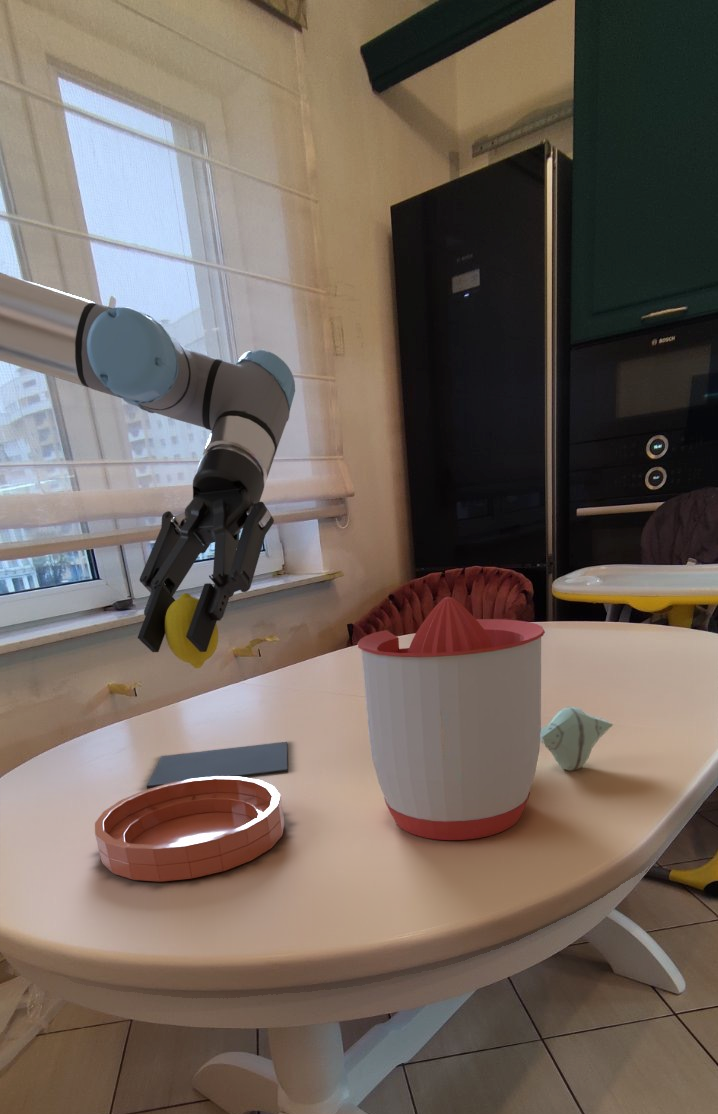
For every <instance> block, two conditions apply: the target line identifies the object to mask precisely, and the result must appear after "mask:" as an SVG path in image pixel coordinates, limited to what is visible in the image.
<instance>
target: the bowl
mask: <svg viewBox="0 0 718 1114" xmlns="http://www.w3.org/2000/svg"><path fill="white" fill-rule="evenodd" d="M284 817H285V816H284V812H283V803H282V796H281V793H280V792H279V790H277V788H276V787H275V786H274V785H272V784H270V783H268V782H265V781H264V780H261V779H255V778H250V777H225V776H215V777H205V778H194V779H188V780H183V781H178V782H173V783H168V784H164V785H160V786H157V787H154V788H148V789H147V788H146V789H143V790H141V791H139V792H137V793H134V794H131V795H130V796H127V797H126V798H123V799H120V800H118V801H117V802H116V803H114V804H113V805H111V806H110V807H108V808H107V809H105V810H103V812H102V813H101V814H100V815H99V817H98V818H97V819H96V821H95V822H94V836H95V840H96V842H97V844H96V845H97V847H98V853H99V855H100V860H101V863H102V865H103V866H104V867H106V868H107V869H108V870H109V872H111V873H112V874H114V875H117V876H119V877H124V878H126V879H130V880H132V881H133V880H134V881H146V882H169V881H170V882H171V881H180V880H189V879H190V880H192V879H196V878H200V877H204V876H209V875H213V874H217V873H221V872H225V871H228V870H231V869H233V868H236V867H239V866H241V865H244V864H246V863H249V862H251V861H254V859H257V858H258V857H260V856H261V855H263V854H265V853H266V852H267V851H269V850H271V849H272V848H273V847H274V846H275V844H276V843H277V842H278V841H279V840H280V839H281V838H282V837H283V834H284V829H285V818H284Z"/></svg>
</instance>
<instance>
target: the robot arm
mask: <svg viewBox="0 0 718 1114" xmlns="http://www.w3.org/2000/svg"><path fill="white" fill-rule="evenodd" d="M0 361H1V362H3V363H7V364H10V365H13V366H16V367H20V368H23V369H26V370H30V371H33V372H37V373H40V374H43V375H46V376H50V377H53V378H55V379H59V380H63V381H66V382H70V383H73V384H76V385H78V386H83V387H86V388H89V389H91V390H94V391H97V392H100V393H104V394H107V395H110V396H113V397H117V398H119V399H122V400H123V401H124V402H125V403H127V404H129V405H131V406H134V407H137V408H139V409H140V410H142V411H145V412H147V413H150V414H157V415H161V416H164V417H167V418H169V419H173V420H176V421H179V422H183V423H187V424H190V425H194V426H197V427H200V428H201V427H202V428H204V429H206V430H208V431H211V432H210V434H209V438H208V439H207V442H206V444H205V447H204V448H203V449H204V450H203V453H202V457H201V458H200V461H199V464H198V466H197V469H196V472H195V473H194V476H193V478H192V479H193V480H192V499H191V500H190V502H189V503H188V504H187V505H186V507H185V508H184V511H183V512H181V513H178V514H175V515H174V514H173V513H172V512H171V511H169V510H167V511H165V512H164V513H163V514H162V516H161V524H160V526H161V527H160V530H159V532H158V534H157V537H156V539H155V541H154V544H153V546H152V548H151V551H150V554H149V556H148V557H147V560H146V562H145V565H144V567H143V569H142V572H141V574H140V577H139V582H140V583H141V584H142V585H143V586H144V588H145V589H146V590H147V591H148V592H149V593H150V594H149V597H148V599H147V603H146V604H145V607H144V610H143V615H144V619H143V622H142V625H141V627H140V630H139V633H138V635H137V639H138V640H139V641H140V642H141V643H142V644H143V645H144V646H145V647H146V648H148V650H149V651H151V652H152V653H159V651H160V649H161V646H162V643H163V641H164V638H165V636H166V635H165V616H166V612H167V610H168V608H169V606H170V605H171V604H172V603H173V602H174V601H175V600H176V599H175V598H174V595H175V593H176V592H177V590H178V589H179V587H180V586H181V584H182V583H183V581H184V579H185V578H186V576H187V574H188V573H189V572H190V570H191V568H192V567H193V565H194V563H196V561H197V558H198V557H199V556H200V555H201V554H205V553H206V551H207V550H208V549H209V547H210V546H211V544H213V543H214V552H213V566H212V567H213V569H212V574H211V575H208V577H209V580H211V581H212V582H213V584H214V585H213V584H212V583H211V582H206V583H204V584H203V587H202V590H201V593H200V596H199V598H198V599H199V601H198V604H197V607H196V610H195V612H194V615H193V618H192V621H191V624H190V627H189V629H188V632H187V635H186V637H187V638H188V639H189V641H190V642H191V643H192V644H193V645H194V646H195V647H196V648H197V649H198V650H199V651H200V652H206V651H207V648H208V645H209V642H210V639H211V636H212V633H213V630H214V628H215V625H216V624H217V622H219V621H221V620H222V619H223V618H224V615H225V612H226V608H227V606H228V603H229V600H230V598H232V597H233V596H234V595H235V593H236V592H238V591H240V592H242V593H246V592H248V591H249V590H250V589H251V587H252V584H253V579H254V576H255V574H256V573H255V572H256V570H257V565H258V563H259V559H260V555H261V551H262V548H263V544H264V542H265V538H266V535H267V534H268V532H269V531H270V529H271V528H272V526H273V525H274V523H275V519H274V517H273V516H272V514H271V512H270V511H269V509H268V508H267V506H266V504H265V503H264V501H261V498H262V496H263V494H264V493H263V492H264V491H265V490H264V489H265V485H266V482H267V480H268V477H269V474H270V471H271V469H272V466H273V462H274V459H275V456H276V454H277V450H278V447H279V445H280V442H281V439H282V436H283V433H284V430H285V427H286V425H287V422H288V421H289V419H290V413H291V409H292V405H293V404H292V403H293V400H294V397H295V393H296V381H295V378H294V375H293V373H292V371H291V368H290V367H289V366H288V364H287V363H286V362H285V361H284V360H283V359H282V358H281V357H279V356H278V355H276V354H275V353H273V352H271V351H269V350H265V349H257V350H248V351H246V352H244V353H243V354H242V355H241V356H240V358H239V359H238V361H236V363H234V362H230V361H227V360H222V359H219V358H215V357H212V356H209V355H206V354H203V353H202V352H198V351H195V350H192V349H189V348H188V347H185V346H184V345H182V344H181V343H180V342H179V341H178V340H177V339H176V338H175V337H173V336H172V335H170V333H168V332H167V330H166V329H165V328H164V326H163V325H162V324H160V323H159V322H158V321H157V320H155V319H154V317H152V316H150V315H149V314H146V313H145V312H141V311H139V310H137V309H134V308H131V307H126V306H117V307H110V306H108V305H103V304H99V303H96V302H94V301H91V300H88V299H86V298H82V297H79V296H76V295H72V294H70V293H66V292H63V291H60V290H58V289H55V288H51V287H47V286H44V285H41V284H37V283H35V282H31V281H28V280H26V279H22V278H19V277H16V276H13V275H9V274H7V273H4V272H0Z"/></svg>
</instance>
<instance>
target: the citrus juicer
mask: <svg viewBox="0 0 718 1114" xmlns="http://www.w3.org/2000/svg"><path fill="white" fill-rule="evenodd" d="M545 633H546V632H545V629H544V627H543V626H542V625H540V624H538V623H534V622H530V621H524V620H517V619H516V620H515V619H503V618H501V619H500V618H475V616H473V614H472V613H471V612H470V611H469V610H468V609H467V608H466V607H465V606H464V605H463V604H462V603H460V602H459V601H458V600H456V599H455V598H454V597H452V596H446V597H444V598H442V599H441V600H440V601H439V602H438V603H437V604H436V605H435V606H434V607H433V609H432V610H431V611H430V612H429V613H428V615H426V617H425V619H424V620H423V622H422V623H420V626H419V627H418V629H417V631H416V632H415V634H414V637H413V638H412V640H411V642H410V645H409V647H403V648H400V641H399V639H400V638H399V637H398V636H396V635H395V634H393V633H392V632H390V631H389V630H387V629H384V630H380V631H375V632H372V633H370V634H367V635H365V636H363V637H362V638H360V639H359V640H358V642H357V648H358V649H359V650H361V660H362V661H361V662H362V674H363V685H364V695H365V696H364V697H365V707H366V719H367V720H366V721H367V730H368V739H369V747H370V753H371V759H372V763H373V766H374V770H375V774H376V778H377V781H378V784H379V787H380V790H381V792H382V794H383V799H384V802H385V805H386V807H387V809H388V810H389V813H390V814H391V817H392V818H393V820H394V822H395V824H397V825H398V827H399V828H401V829H402V830H403V831H405V832H407V833H410V834H412V835H414V836H418V837H421V838H426V839H431V840H440V841H441V840H442V841H464V840H465V841H466V840H475V839H481V838H485V837H489V836H493V835H496V834H499V833H501V832H504V831H506V830H508V829H510V828H511V827H513V826H514V825H516V823H518V821H519V820H520V818H521V816H522V814H523V812H524V809H525V808H526V804H527V803H528V801H529V797H530V794H531V791H530V790H531V787H532V784H533V781H534V778H535V774H536V772H537V771H536V770H537V766H538V760H539V756H540V755H539V754H540V749H541V740H540V734H541V728H542V637H543V636H544V635H545Z"/></svg>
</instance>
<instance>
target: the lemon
mask: <svg viewBox="0 0 718 1114" xmlns="http://www.w3.org/2000/svg"><path fill="white" fill-rule="evenodd" d="M198 601H199V598H198V597H195V596H193V595H191V594H190V593H187V592H184V593H182V594H181V595H180V596H179V598H177V599H175V601H174V602H173V603H172V604H171V605H170V606H169V608H168V610H167V612H166V616H165V635H164V636H165V639H166V642H167V645H168V647H169V649H170V650H171V652H172V653H173V655H174V656H175V657H176V658H178V659H179V660H180V661H182V662H185V663H188V664H190V665H191V666H192V667H193V668H194V669H200V668H202V667H203V665H204V663H205V662H206V661H208V660H209V659H210V658H211V657H212V656H214V653H215V652H216V650H217V649H218V648H217V647H218V645H219V644H218V643H219V629H218V624H217V623H216V625H215V628H214V630H213V633H212V636H211V639H210V642H209V645H208V648H207V651H206V652H200V651H199V650H198V649H197V648H196V647H195V646H194V645H193V644H192V643H191V642H190V641H189V639H188V638H187V637H186V635H187V632H188V629H189V627H190V624H191V621H192V618H193V615H194V612H195V610H196V607H197V604H198Z"/></svg>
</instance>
